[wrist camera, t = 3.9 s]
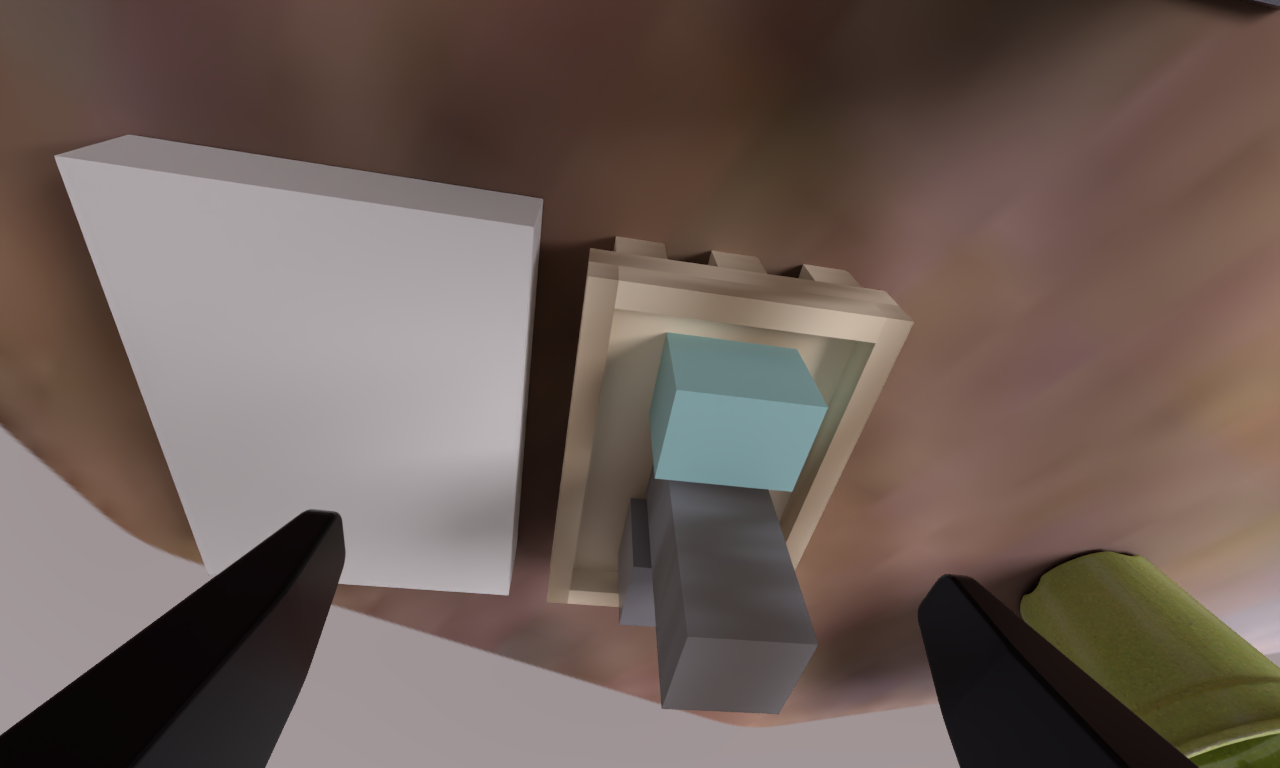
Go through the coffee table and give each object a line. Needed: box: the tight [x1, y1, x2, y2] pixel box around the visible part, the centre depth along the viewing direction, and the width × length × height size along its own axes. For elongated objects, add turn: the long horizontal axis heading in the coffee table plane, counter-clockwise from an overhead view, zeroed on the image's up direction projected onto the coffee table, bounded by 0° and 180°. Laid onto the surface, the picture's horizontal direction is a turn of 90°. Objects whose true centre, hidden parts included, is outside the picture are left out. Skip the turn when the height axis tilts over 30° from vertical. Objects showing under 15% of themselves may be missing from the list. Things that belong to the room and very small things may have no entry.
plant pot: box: [1020, 551, 1280, 768], centre depth 25 cm, size 9×9×9 cm
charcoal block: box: [618, 498, 656, 627], centre depth 20 cm, size 4×3×3 cm
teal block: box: [649, 332, 828, 492], centre depth 17 cm, size 4×3×3 cm
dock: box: [54, 135, 543, 595], centre depth 19 cm, size 11×15×2 cm
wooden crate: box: [546, 236, 914, 714], centre depth 18 cm, size 9×13×10 cm
